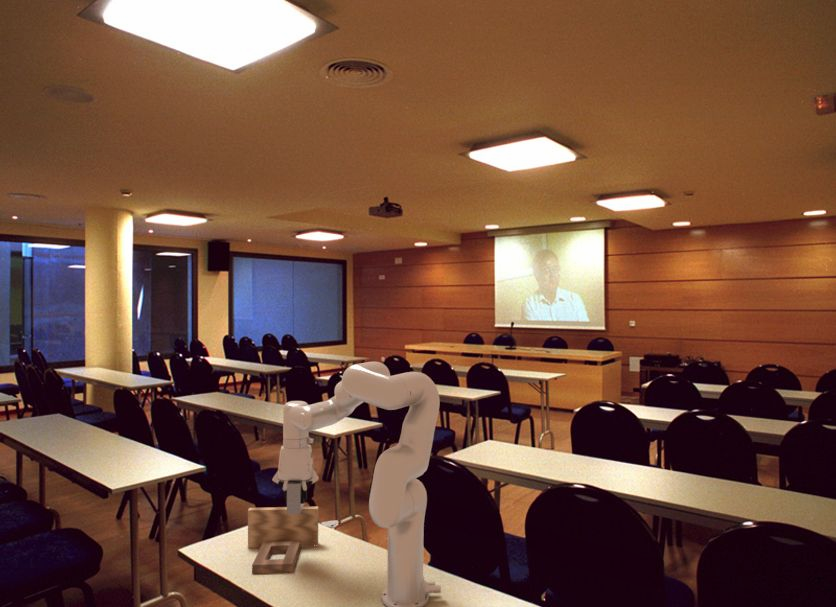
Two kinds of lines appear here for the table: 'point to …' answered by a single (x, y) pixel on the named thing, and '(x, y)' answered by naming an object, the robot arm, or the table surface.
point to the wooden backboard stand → (280, 536)
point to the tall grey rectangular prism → (294, 497)
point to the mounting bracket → (330, 523)
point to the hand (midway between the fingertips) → (295, 501)
